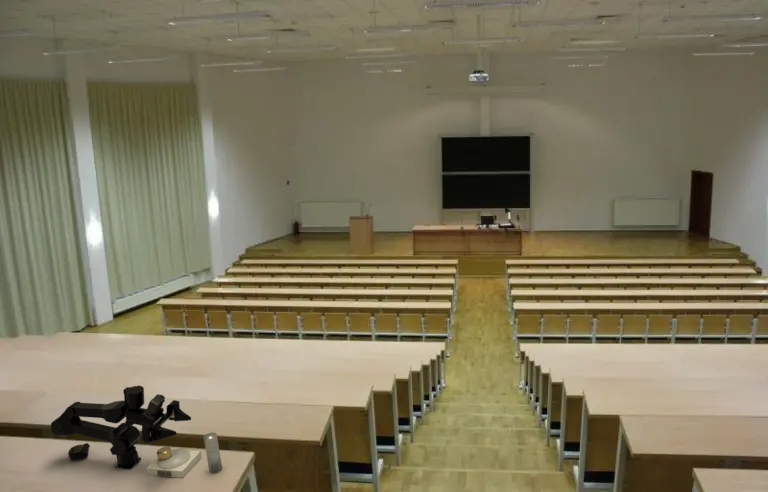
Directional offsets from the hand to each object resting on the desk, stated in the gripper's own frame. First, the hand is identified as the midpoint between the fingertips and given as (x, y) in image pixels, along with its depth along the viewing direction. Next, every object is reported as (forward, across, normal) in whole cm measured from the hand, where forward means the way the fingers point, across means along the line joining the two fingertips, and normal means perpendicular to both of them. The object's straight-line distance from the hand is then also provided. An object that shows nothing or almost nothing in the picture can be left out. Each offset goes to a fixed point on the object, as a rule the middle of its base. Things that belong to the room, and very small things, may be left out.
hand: (183, 425), depth 204 cm
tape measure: (-44, +2, +24) cm, 50 cm away
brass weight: (-8, +1, +15) cm, 17 cm away
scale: (-4, +1, +18) cm, 18 cm away
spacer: (+12, +1, +15) cm, 19 cm away
